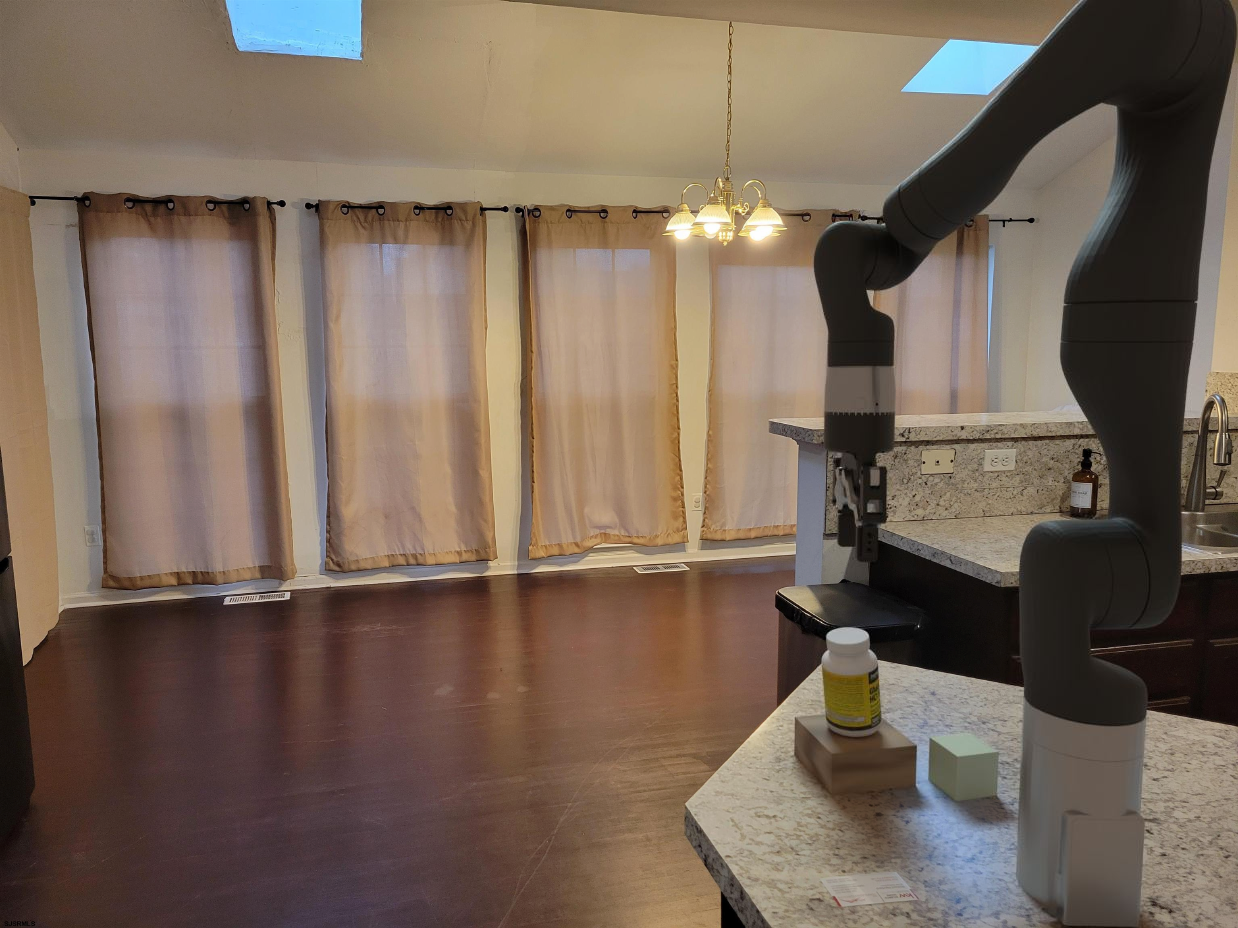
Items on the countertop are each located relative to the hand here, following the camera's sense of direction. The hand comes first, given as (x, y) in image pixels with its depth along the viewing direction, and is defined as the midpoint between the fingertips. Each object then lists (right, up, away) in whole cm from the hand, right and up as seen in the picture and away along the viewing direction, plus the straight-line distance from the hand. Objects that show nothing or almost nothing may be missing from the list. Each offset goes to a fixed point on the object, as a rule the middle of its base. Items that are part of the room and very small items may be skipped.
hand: (856, 553), depth 93 cm
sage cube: (+11, -26, -2) cm, 28 cm away
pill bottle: (0, -20, +2) cm, 20 cm away
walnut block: (0, -25, +2) cm, 26 cm away
